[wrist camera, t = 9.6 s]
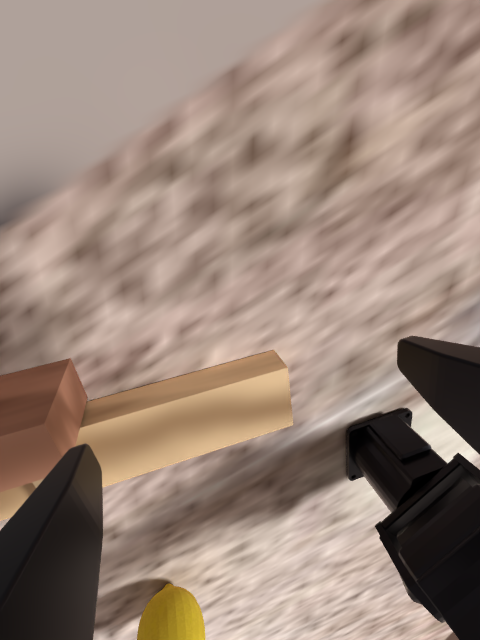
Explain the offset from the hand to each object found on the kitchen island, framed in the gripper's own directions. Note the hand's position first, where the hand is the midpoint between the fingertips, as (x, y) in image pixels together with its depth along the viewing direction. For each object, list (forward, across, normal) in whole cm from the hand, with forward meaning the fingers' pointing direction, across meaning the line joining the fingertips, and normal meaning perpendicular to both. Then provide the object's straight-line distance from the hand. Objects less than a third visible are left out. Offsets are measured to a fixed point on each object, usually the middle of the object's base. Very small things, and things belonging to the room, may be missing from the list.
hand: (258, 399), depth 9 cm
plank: (+12, +6, +9) cm, 16 cm away
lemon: (+13, +10, +28) cm, 32 cm away
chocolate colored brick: (+12, +11, +7) cm, 18 cm away
